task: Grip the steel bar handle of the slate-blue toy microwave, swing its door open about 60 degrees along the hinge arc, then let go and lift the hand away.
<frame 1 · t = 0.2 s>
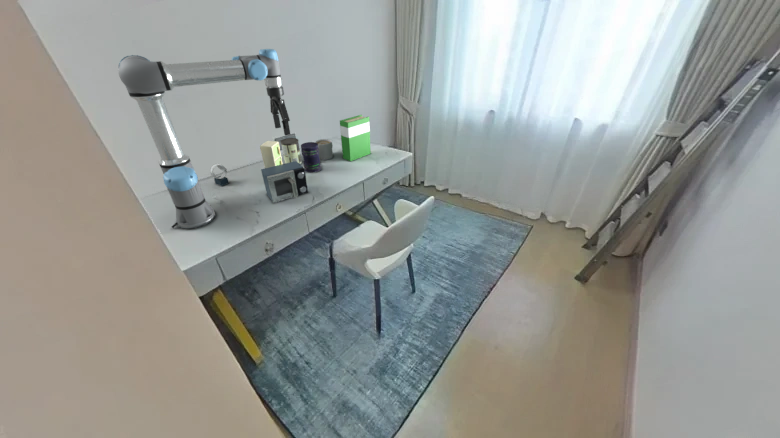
hand: (282, 131, 160), 28 cm above the table, tool pointing down, fingers open, 13 cm apart
microwave: (287, 193, 163), on the table
coffee can: (293, 162, 196), on the table
watch: (222, 183, 172), on the table
coffee mug: (327, 156, 205), on the table
toy refrigerator: (277, 180, 176), on the table
microwave door: (285, 189, 152), point 7 cm above the table, hinge at 0.0°
storage jar: (312, 169, 188), on the table
hardback book: (356, 156, 206), on the table
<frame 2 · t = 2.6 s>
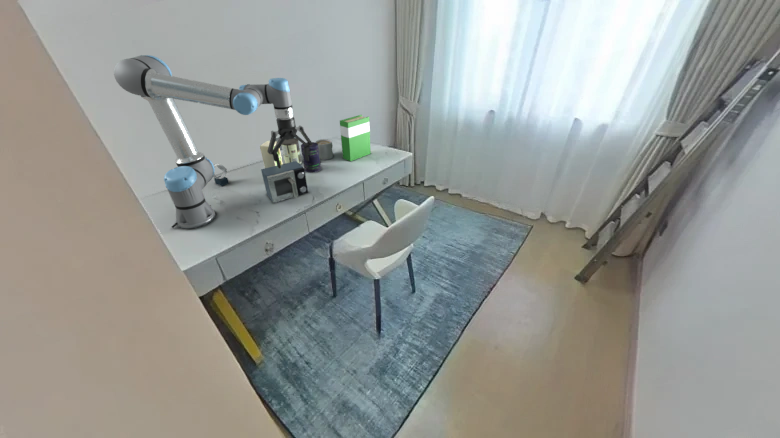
hand: (293, 163, 147), 19 cm above the table, tool pointing down, fingers open, 13 cm apart
nothing on the table moved.
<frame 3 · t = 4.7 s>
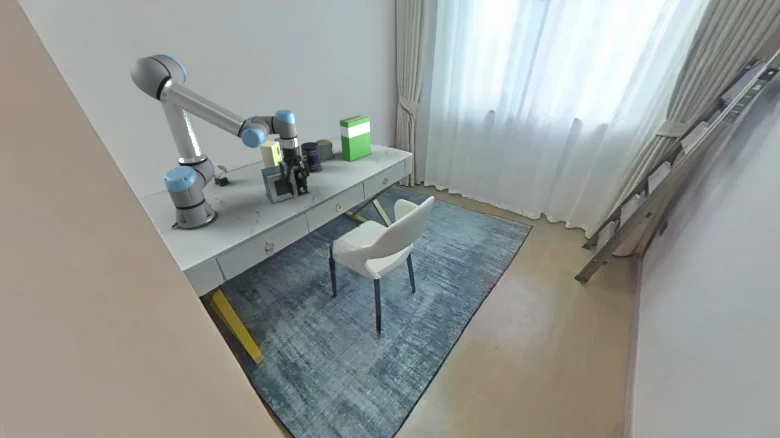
hand: (298, 192, 154), 5 cm above the table, tool pointing down, fingers open, 6 cm apart
microwave door: (285, 189, 152), point 7 cm above the table, hinge at 0.0°, touching gripper
everything else where it was.
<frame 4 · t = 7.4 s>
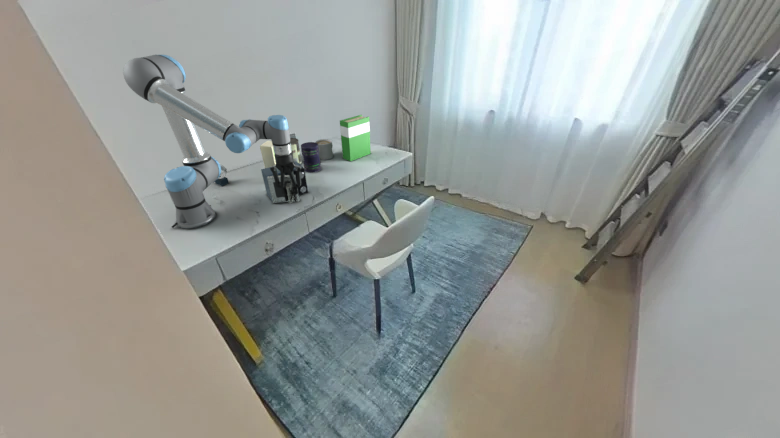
hand: (291, 199, 149), 4 cm above the table, tool pointing down, fingers open, 3 cm apart
microwave door: (282, 192, 149), point 7 cm above the table, hinge at 27.1°, touching gripper
everything else where it was.
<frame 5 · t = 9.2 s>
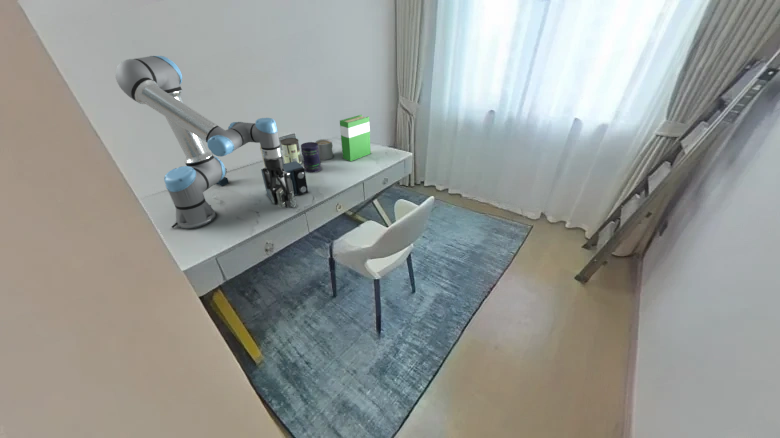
hand: (282, 204, 144), 5 cm above the table, tool pointing down, fingers open, 6 cm apart
microwave door: (277, 195, 147), point 7 cm above the table, hinge at 54.2°
everything else where it was.
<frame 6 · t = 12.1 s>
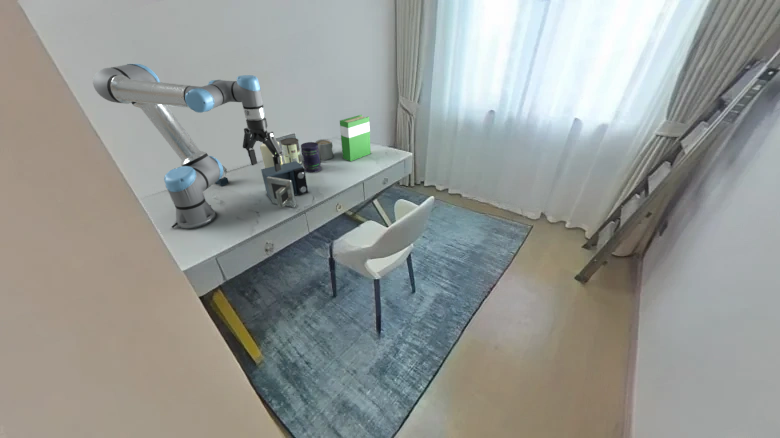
hand: (266, 167, 138), 22 cm above the table, tool pointing down, fingers open, 13 cm apart
nothing on the table moved.
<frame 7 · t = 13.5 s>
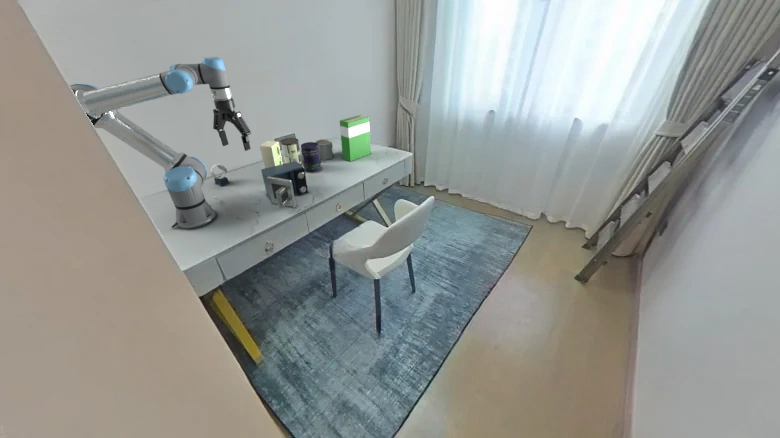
hand: (236, 147, 144), 27 cm above the table, tool pointing down, fingers open, 13 cm apart
nothing on the table moved.
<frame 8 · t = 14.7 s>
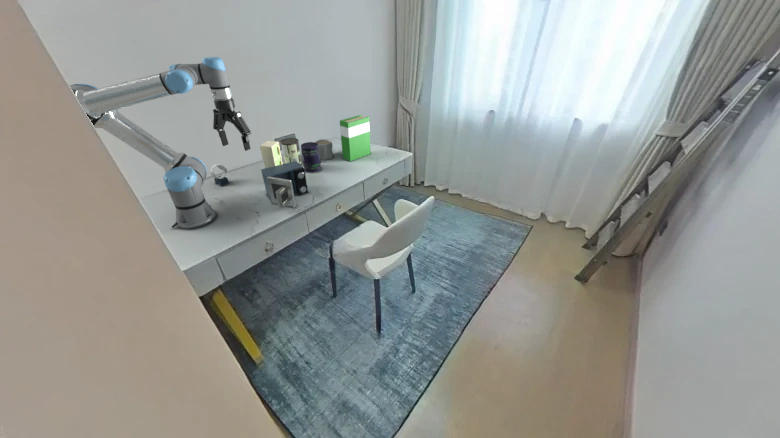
hand: (236, 147, 144), 27 cm above the table, tool pointing down, fingers open, 13 cm apart
nothing on the table moved.
at the end: microwave door at +54° (first picture: +0°); toy refrigerator moved 0.2 cm from its start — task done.
